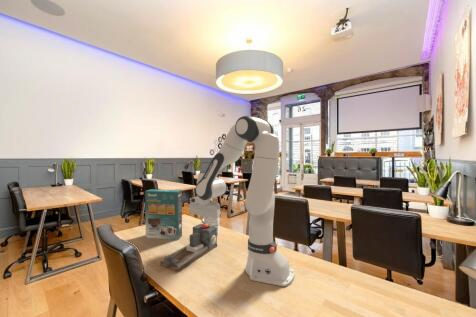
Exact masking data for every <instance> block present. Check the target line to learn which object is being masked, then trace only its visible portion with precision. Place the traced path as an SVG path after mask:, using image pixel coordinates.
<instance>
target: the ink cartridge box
mask: <svg viewBox="0 0 476 317" xmlns="http://www.w3.org/2000/svg"><path fill="white" fill-rule="evenodd" d="M207 224H208V225H209V226H213V227H217V236H219V234H220V217H219V218H217V219H215V218H210V217H209V219H208V220H207Z"/></svg>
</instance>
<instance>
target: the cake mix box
mask: <svg viewBox="0 0 476 317" xmlns="http://www.w3.org/2000/svg"><path fill="white" fill-rule="evenodd" d="M144 192H145V193H144V196H145V198H144V202H145V205H144V206H145V207H144V208H145V210H144V211H145V213H144V214H145V238H147V239H159V240H160V239H161V240H174V241H175V240H180V238H182V236H183V198H182V197H183V196H182V195H183V194H182V193H183V191H182V190H181V189H178V190H177V189H156V188H155V189H154V188H151V189H148V190H145V191H144Z"/></svg>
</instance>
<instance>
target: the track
mask: <svg viewBox="0 0 476 317" xmlns="http://www.w3.org/2000/svg"><path fill="white" fill-rule="evenodd" d="M201 224H202V223H198V224H197V225H194V226H193V227H192V234H193V233H195V232H196V233H200V244H203V248H202V249H200V250H199V251H197V252H195V253H194V252H190V251H187V250H186V246H187V245H186V246H184V247H182V248H180V249H178V250H176V251H173V253H170V254H168V255H166V256H164V257H163V258H162V260H161V261H160V262H159V265H160V266H161V267H164V268H165V269H169V270H172V271H175V273H176V272H177V273H180V272H181V271H182V270H184V269H185V268H187V267H189V266H190V265H191V264H193V263H195V262H197V260H199V259H201V258H202V257H203V256H205V255H207V254H208V253H210V252H211V251H212V250H214V249H216V248H218V243H217V241H218V235H217V227H213V226H209V225H208V228H201Z"/></svg>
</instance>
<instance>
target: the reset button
mask: <svg viewBox="0 0 476 317" xmlns="http://www.w3.org/2000/svg"><path fill="white" fill-rule="evenodd" d="M200 224H201V228H208V224H203V223H200Z"/></svg>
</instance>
